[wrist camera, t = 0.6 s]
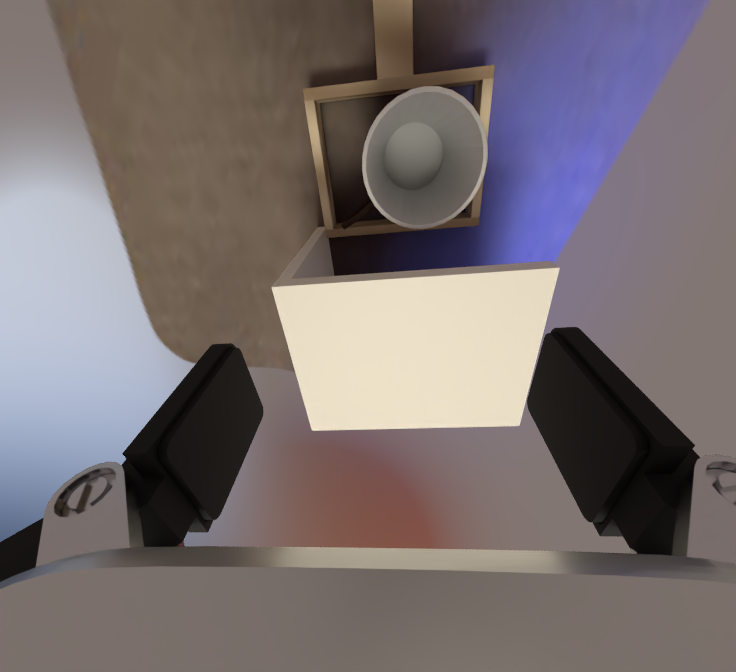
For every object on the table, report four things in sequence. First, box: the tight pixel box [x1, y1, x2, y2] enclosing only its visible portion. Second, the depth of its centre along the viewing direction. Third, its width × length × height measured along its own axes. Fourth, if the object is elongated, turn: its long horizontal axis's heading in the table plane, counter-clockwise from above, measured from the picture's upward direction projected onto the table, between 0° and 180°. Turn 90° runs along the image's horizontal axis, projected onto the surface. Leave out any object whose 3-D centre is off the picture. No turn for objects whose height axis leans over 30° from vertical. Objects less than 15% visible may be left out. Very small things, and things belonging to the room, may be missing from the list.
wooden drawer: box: [303, 0, 495, 238], centre depth 25 cm, size 20×15×7 cm
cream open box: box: [272, 227, 560, 431], centre depth 30 cm, size 14×18×16 cm
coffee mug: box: [341, 86, 488, 230], centre depth 26 cm, size 12×9×10 cm
